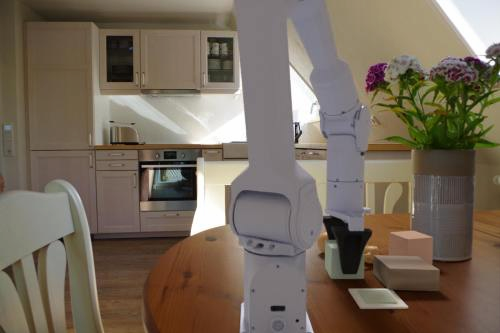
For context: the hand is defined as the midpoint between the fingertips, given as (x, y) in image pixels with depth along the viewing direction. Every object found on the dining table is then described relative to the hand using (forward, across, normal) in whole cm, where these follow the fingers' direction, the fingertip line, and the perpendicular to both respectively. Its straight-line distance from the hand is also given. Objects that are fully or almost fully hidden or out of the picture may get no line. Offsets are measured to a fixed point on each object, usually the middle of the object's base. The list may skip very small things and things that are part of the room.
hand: (343, 265), depth 62 cm
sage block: (+2, 0, 0) cm, 2 cm away
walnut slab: (+1, -4, -8) cm, 9 cm away
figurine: (-2, +12, +2) cm, 12 cm away
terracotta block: (+2, +6, -13) cm, 14 cm away
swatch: (+1, -10, -2) cm, 10 cm away
